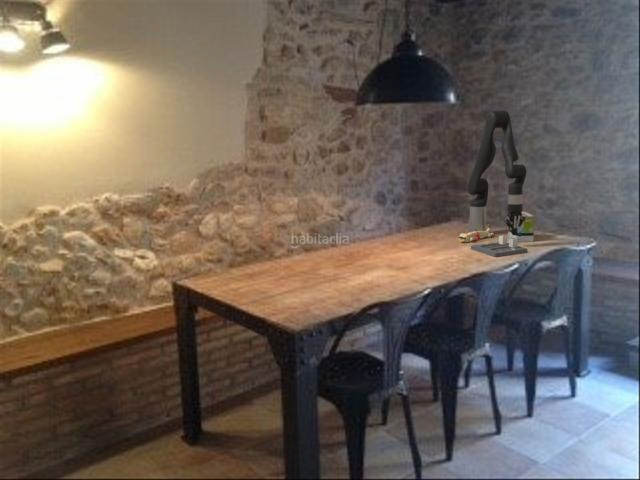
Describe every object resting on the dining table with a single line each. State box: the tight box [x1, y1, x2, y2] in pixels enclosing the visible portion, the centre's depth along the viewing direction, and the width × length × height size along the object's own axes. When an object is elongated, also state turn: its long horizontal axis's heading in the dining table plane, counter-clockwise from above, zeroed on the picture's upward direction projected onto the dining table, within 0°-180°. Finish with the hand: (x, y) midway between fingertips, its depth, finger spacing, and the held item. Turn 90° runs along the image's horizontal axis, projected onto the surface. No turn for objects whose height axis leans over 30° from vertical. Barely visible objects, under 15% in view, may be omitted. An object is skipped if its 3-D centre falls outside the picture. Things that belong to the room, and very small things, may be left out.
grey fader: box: [508, 238, 519, 247], centre depth 299 cm, size 3×3×5 cm
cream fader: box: [498, 234, 508, 244], centre depth 307 cm, size 3×3×5 cm
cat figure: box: [458, 223, 495, 243], centre depth 329 cm, size 10×9×25 cm
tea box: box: [507, 211, 536, 243], centre depth 325 cm, size 15×10×15 cm, turn 179°
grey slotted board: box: [470, 241, 528, 258], centre depth 302 cm, size 20×20×2 cm
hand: (514, 234), depth 309 cm, fingers closed
